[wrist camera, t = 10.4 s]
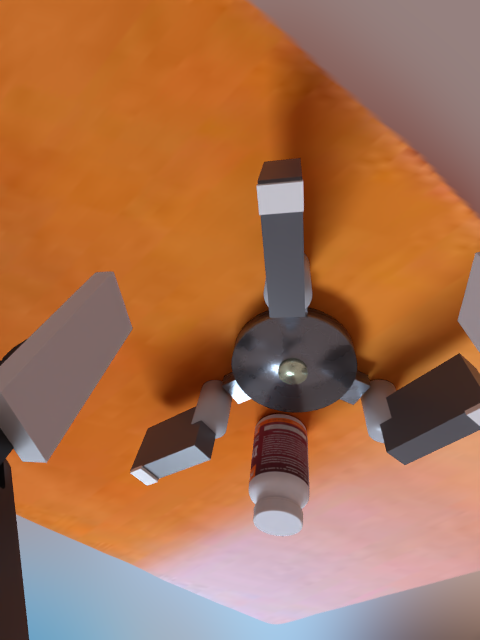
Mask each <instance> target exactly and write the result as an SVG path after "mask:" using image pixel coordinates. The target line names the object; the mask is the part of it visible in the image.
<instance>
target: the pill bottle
mask: <svg viewBox="0 0 480 640" xmlns="http://www.w3.org/2000/svg"><path fill="white" fill-rule="evenodd" d="M249 495H250V498H251V500H252V501H253V502H254V503H255V507H254V517H253V521H254V524H255V526H256V527H257V528H258V529H259V530H261V531H263V532H265V533H267V534H271V535H276V536H289V535H293V534H296V533H298V532H299V531H300V530H301V529H302V527H303V512H302V508H304V507H305V505H306V504H307V502H308V500H309V467H308V440H307V431H306V428H305V426H304V425H303V423H302V422H301V421H299V420H298V419H296V418H295V417H292V416H290V415H286V414H273V415H269V416H266V417H264V418H262V419H261V420H260V421H259V422H258V423H257V425H256V428H255V434H254V444H253V454H252V463H251V472H250V481H249Z"/></svg>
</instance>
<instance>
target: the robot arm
mask: <svg viewBox="0 0 480 640" xmlns="http://www.w3.org/2000/svg"><path fill="white" fill-rule="evenodd" d="M458 322H459V323H460V325H461V326H462V328H463V329H464V331H465V332H466V334H467V335H468V336H469V338H470V339H471V341H472V342H473V344H474V345H475V347H476V348H477V349H478V351H479V352H480V252H478V253H475V257H474V261H473V264H472V268H471V272H470V276H469V279H468V283H467V287H466V291H465V294H464V298H463V302H462V306H461V310H460V313H459V317H458ZM132 329H133V328H132V325H131V322H130V320H129V317H128V314H127V311H126V308H125V305H124V302H123V299H122V296H121V293H120V290H119V287H118V284H117V281H116V278H115V275H114V272H96V273H95V274H94V275H93V276H92V277H90V278H89V279H88V280H87V281H86V282H85V283H84V284H83V285H82V286H81V287H80V288H79V289H78V290H77V291H76V292H75V293H74V294H73V295H72V296H71V297H70V298H69V299H68V300H67V301H66V302H65V303H64V304H63V305H62V306H61V307H60V308H59V309H58V310H57V311H56V312H55V313H54V314H53V315H52V316H51V317H50V318H49V319H48V320H47V321H46V322H45V323H44V324H42V325H41V326H40V327H39V328H38V329H37V330H36V331H35V332H34V333H33V334H32V335H31V336H30V337H29V338H28V339H27V340H25V341H23V342H22V343H20V344H19V345H17V346H15V347H14V348H13V349H12V350H11V351H10V352H8V353H7V354H6V355H5V356H4V357H3V358H2V359H3V360H2V361H0V640H29V635H28V625H27V616H26V606H25V597H24V588H23V578H22V569H21V560H20V550H19V540H18V531H17V521H16V512H15V503H14V493H13V484H12V474H11V467H10V465H9V463H8V461H7V460H6V459H5V458H6V457H7V456H8V454H9V453H10V452H11V451H12V449H13V448H14V450H15V451H16V453H17V454H18V455H19V457H20V458H21V460H22V461H23V462H47V461H48V460H49V458H50V457H51V455H52V453H53V452H54V450H55V449H56V447H57V446H58V444H59V443H60V441H61V439H62V438H63V436H64V435H65V433H66V432H67V430H68V429H69V427H70V425H71V424H72V422H73V421H74V419H75V418H76V416H77V414H78V413H79V411H80V410H81V408H82V407H83V405H84V404H85V402H86V400H87V399H88V397H89V396H90V394H91V393H92V391H93V390H94V388H95V386H96V385H97V383H98V382H99V380H100V379H101V377H102V375H103V374H104V372H105V371H106V369H107V368H108V366H109V365H110V363H111V361H112V360H113V358H114V357H115V355H116V354H117V352H118V351H119V349H120V347H121V346H122V344H123V343H124V341H125V340H126V338H127V336H128V335H129V333H130V332H131V330H132Z"/></svg>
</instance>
